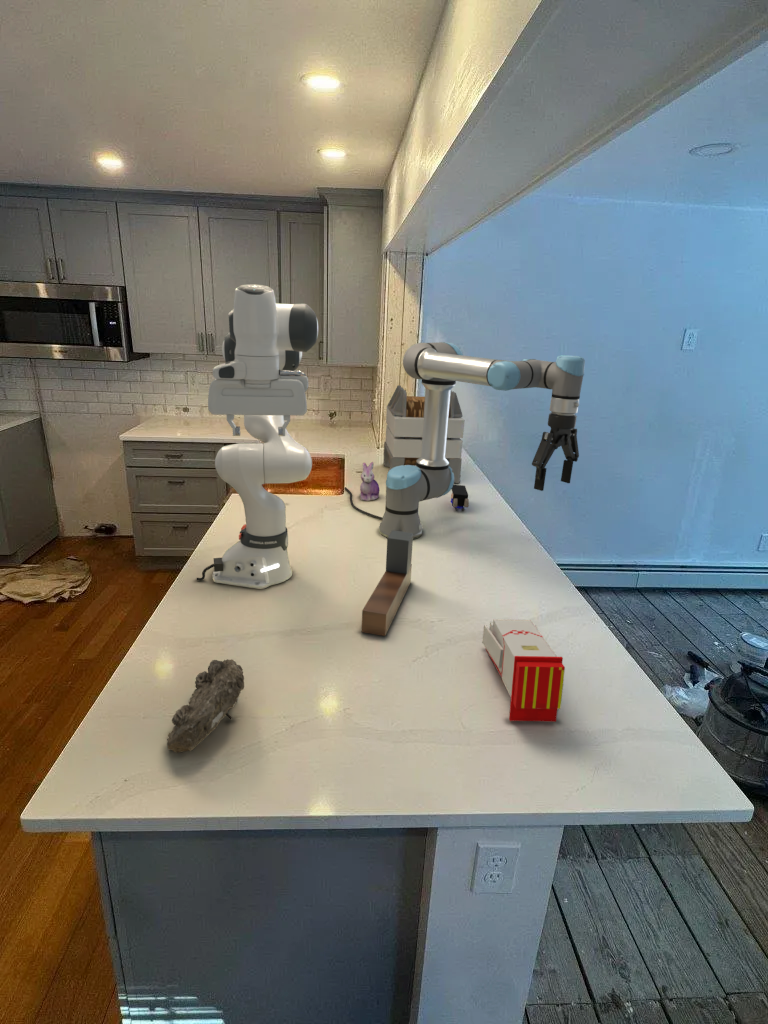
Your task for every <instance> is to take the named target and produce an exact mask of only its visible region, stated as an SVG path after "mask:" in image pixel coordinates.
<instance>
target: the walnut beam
mask: <svg viewBox="0 0 768 1024" xmlns="http://www.w3.org/2000/svg"><path fill="white" fill-rule="evenodd" d="M412 565H413V564H412V563H411V566H410V568H409V570H408V572H407V574H403V573H396V572H389V571H386V570H385V571H384V574H383V575H382V577H381V578H380V581H379V582H378V583H377V585H376V587H375V589H373V592H372V594H371V595H370V596H369V598H368V600H367V602H366V604H365V605H364V607H363V609H362V611H361V633H363V634H364V633H366V634H371V635H375V636H382V637H386V635H387V633H388V631H389V629H390V627H391V625H392V623H393V621H394V619H395V617H396V615H397V612H398V610H399V609H400V605H401V604H402V602H403V599H404V598H405V596H406V593H407V591H408V589H409V587H410V585H411V582H412V580H411V579H412V567H413V566H412Z"/></svg>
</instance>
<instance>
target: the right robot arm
mask: <svg viewBox="0 0 768 1024" xmlns="http://www.w3.org/2000/svg"><path fill="white" fill-rule="evenodd" d="M585 365H586V360H585V358H584V357H582V356H578V355H566V354H565V355H564V354H563V355H558V356H557V357H556V360H555V361H549V360H541V359H536V358H524V359H521V360H506V359H505V360H504V359H503V360H502V359H496V358H487V357H479V356H471V355H464V354H463V352H462V350H461V349H460V347H459V346H457V345H456V344H455V343H451V342H445V341H443V342H442V341H441V342H440V341H439V342H438V341H437V342H417V343H414V344H412V345H411V346H409V347H408V348H407V350H406V351H405V353H404V355H403V358H402V366H403V369H404V372H405V373H406V374H407V375H408V376H409V377H411V378H412V379H415V380H421V385H422V386H423V387H424V389H425V392H424V397H425V404H424V419H423V434H422V449H421V457H420V458H418V459H417V461H416V466H413V465H401V466H396V467H394V468H392V469H390V468H389V470H388V472H387V474H386V479H385V504H384V505H385V507H384V508H385V509H384V513H383V515H382V516H379V515H376V514H373V513H370V512H367V511H365V510H363V509H360V508H359V507H357V506H356V505H355V504H354V503H353V501H354V500H353V493H352V492H351V490H349V489H348V488H347V487H346V486H345V487H344V490H345V491H346V492H348V494H349V502H350V505H351V506H352V508H353V509H355V510H356V511H358V512H360V513H362V514H364V515H367V516H369V517H372V518H375V519H378V520H381V522H379V526H378V533H379V534H380V535H381V536H382V537H385V538H386V539H387V538H388V536H389V535H390V533H391V532H392V530H394V531H401V532H409V533H413V540H415V539H418V538H420V537H421V536H422V535H423V523H422V522H421V518H420V515H419V507H420V506H419V505H420V502H423V501H427V500H431V499H437V498H440V497H443V496H446V495H448V493H450V492H451V491H452V487H453V485H455V483H454V473H452V469H451V467H450V466H449V462H448V461H447V459H446V458H445V453H446V441H447V428H448V416H449V404H450V392H451V391H452V389H453V388H454V387H455V386H456V384H457V382H461V383H465V384H473V385H479V386H487V387H491V388H492V389H494V390H496V391H503V392H504V391H511V390H520V389H532V388H533V389H534V388H539V389H546V390H551V398H550V404H549V413H548V418H547V419H548V420H547V426H548V427H549V428H550V431H549V432H548V431H543V432H542V435H541V440H540V442H539V445H538V447H537V449H536V452H535V454H534V457H533V460H532V461H531V466H533V467H535V475H534V477H535V478H534V485H533V489H534V490H537V491H539V492H543V491H544V489H545V484H546V483H545V482H546V476H547V468H546V466H547V465H548V463H549V461H550V459H551V457H552V456H553V454H554V453H555V451H556V450H557V449H558V448H560V447H561V449H562V452H563V455H564V458H565V459H563V463H562V468H561V469H562V470H561V475H560V482H562V483H566V484H571V478H572V472H573V466H574V463H576V462H578V461H579V457H580V453H579V444H578V428H576V423H577V419H578V416H577V414H578V412H579V411H578V410H579V406H580V397H581V391H582V385H583V380H584V376H585Z"/></svg>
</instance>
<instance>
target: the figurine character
mask: <svg viewBox="0 0 768 1024" xmlns="http://www.w3.org/2000/svg"><path fill="white" fill-rule="evenodd" d="M449 502H450V504H451V506H452V507H453V508H454V511H456V512H457V511H458V509H461V511H462V512H464V511H465V508H469V505H470V500H469V492H468V490H467V488H466V485H464V484H463V485H461V484H453V487H452V489H451V494H450V501H449Z"/></svg>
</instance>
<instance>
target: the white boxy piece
mask: <svg viewBox="0 0 768 1024" xmlns="http://www.w3.org/2000/svg"><path fill="white" fill-rule="evenodd" d="M407 394H408V393H407V390H406V389H404V388H403V387H402V385H399V384H398V385H397V386H396V388H395V390H394V392H393V394H392V395H391V398H390V400H389V402H388V404H387V405H386V413H385V414H386V415H385V423H386V428H385V438H384V442H383V466H384V467H388V468H389V470H390V469H392V468H394V467H396V466H401V465H404V466H405V465H413V466H416V461H417V459H418V458H420V457H421V449H422V434H423V419H424V404H425V396H415V395H414V396H413V395H412V396H411V395H407ZM464 429H465V419H464V418H463V411H462V408H461V405H460V402H459V398H458V395H457V392H455V391H453V390H451V392H450V404H449V416H448V428H447V441H446V453H445V458H446V459H447V461H448V462H449V466H450V467H451V469H452V473H454V484H455V483H456V484H459V483H461V472H462V461H463V460H462V453H463V442H464V441H463V440H462V439H463V438H464V431H465V430H464Z"/></svg>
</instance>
